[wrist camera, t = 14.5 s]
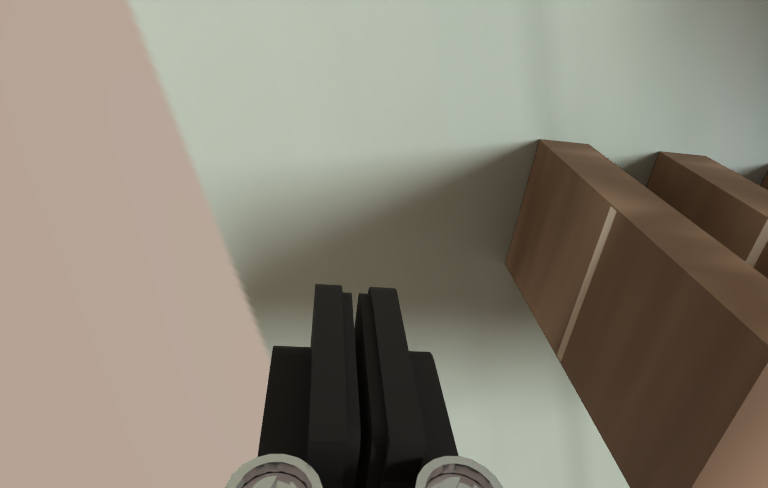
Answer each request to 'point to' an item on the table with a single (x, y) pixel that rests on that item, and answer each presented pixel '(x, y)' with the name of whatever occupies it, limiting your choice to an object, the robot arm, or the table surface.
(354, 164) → the table surface
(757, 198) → the domino
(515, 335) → the table surface
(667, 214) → the domino
